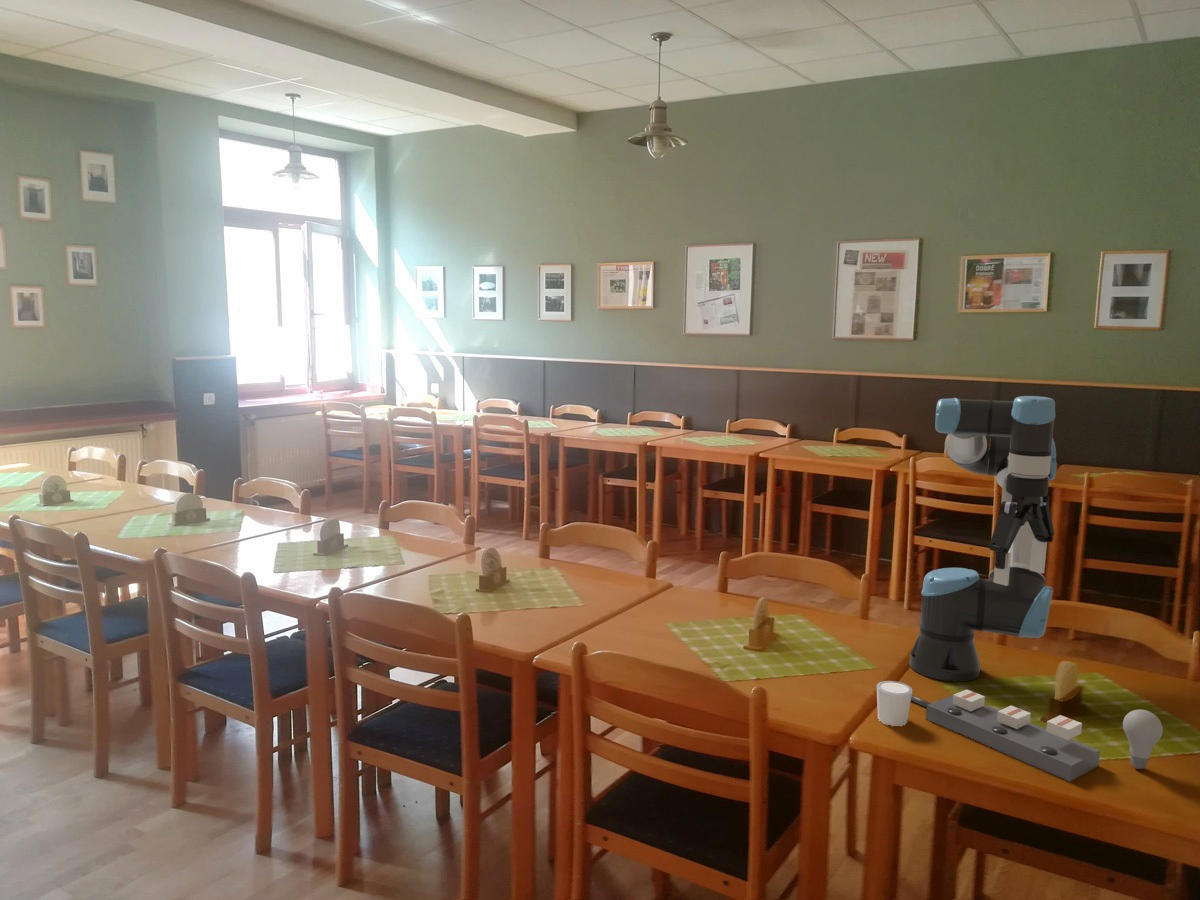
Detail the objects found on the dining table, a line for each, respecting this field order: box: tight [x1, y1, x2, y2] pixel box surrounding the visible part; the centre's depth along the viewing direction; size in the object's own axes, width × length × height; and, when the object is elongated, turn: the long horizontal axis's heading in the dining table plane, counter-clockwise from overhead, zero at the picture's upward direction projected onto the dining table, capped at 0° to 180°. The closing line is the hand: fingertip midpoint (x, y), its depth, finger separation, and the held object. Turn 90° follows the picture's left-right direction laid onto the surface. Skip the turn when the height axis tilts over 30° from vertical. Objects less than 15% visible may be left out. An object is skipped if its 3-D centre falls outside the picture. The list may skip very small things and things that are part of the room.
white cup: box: [876, 680, 913, 727], centre depth 176 cm, size 7×7×7 cm
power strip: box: [911, 694, 1101, 783], centre depth 172 cm, size 10×39×3 cm, turn 35°
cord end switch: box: [952, 689, 986, 711], centre depth 176 cm, size 5×4×2 cm
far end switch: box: [1045, 714, 1083, 740], centre depth 161 cm, size 5×4×2 cm
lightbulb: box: [1122, 709, 1164, 770], centre depth 158 cm, size 6×6×11 cm
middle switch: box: [997, 705, 1032, 729], centre depth 169 cm, size 5×4×2 cm
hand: (1019, 577), depth 178 cm, fingers open, 13 cm apart
